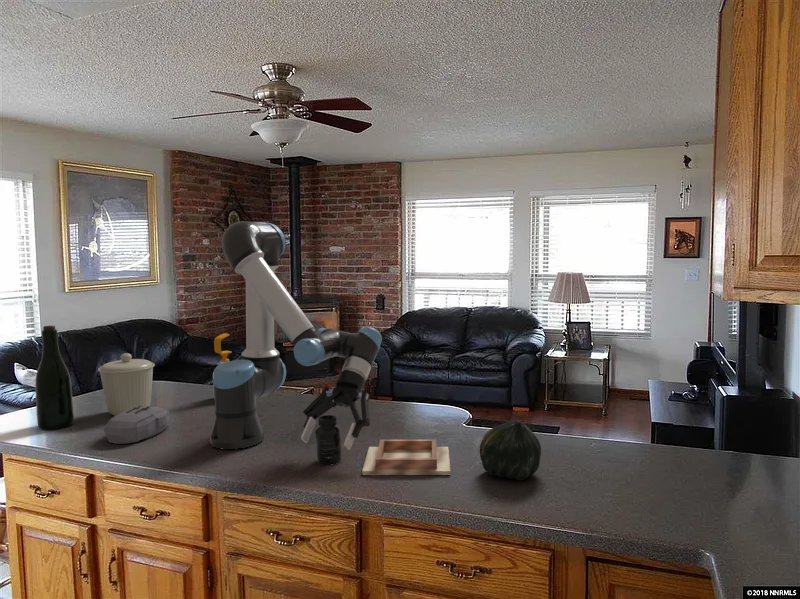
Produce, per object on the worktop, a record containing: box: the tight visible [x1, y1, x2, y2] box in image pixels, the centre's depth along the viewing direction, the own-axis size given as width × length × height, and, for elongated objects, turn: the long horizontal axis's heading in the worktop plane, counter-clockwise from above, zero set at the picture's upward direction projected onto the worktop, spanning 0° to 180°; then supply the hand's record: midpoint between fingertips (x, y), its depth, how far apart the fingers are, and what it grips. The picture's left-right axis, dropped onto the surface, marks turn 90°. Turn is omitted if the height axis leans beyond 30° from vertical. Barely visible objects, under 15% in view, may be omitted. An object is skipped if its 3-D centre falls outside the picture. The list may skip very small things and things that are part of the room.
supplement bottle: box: [314, 414, 343, 466], centre depth 163 cm, size 7×7×12 cm
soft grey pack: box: [103, 406, 172, 445], centre depth 188 cm, size 15×8×20 cm
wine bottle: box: [35, 325, 75, 431], centre depth 198 cm, size 10×10×33 cm
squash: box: [479, 420, 542, 481], centre depth 151 cm, size 14×15×15 cm
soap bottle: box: [212, 332, 233, 400], centre depth 230 cm, size 9×9×25 cm
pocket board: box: [361, 439, 451, 476], centre depth 161 cm, size 22×18×4 cm
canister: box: [97, 352, 156, 417], centre depth 213 cm, size 18×18×21 cm
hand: (324, 444), depth 161 cm, fingers open, 13 cm apart
